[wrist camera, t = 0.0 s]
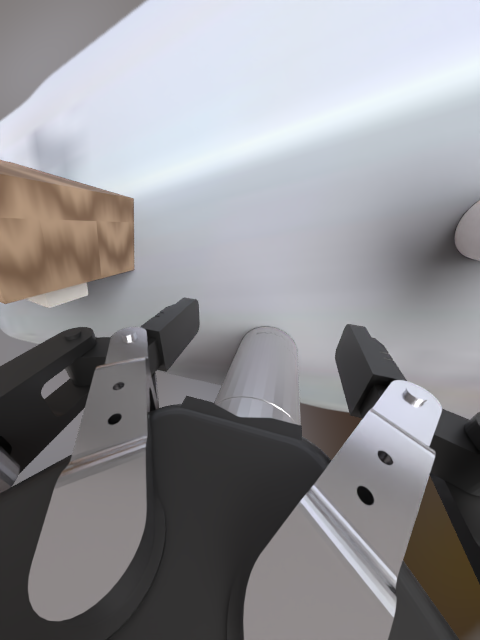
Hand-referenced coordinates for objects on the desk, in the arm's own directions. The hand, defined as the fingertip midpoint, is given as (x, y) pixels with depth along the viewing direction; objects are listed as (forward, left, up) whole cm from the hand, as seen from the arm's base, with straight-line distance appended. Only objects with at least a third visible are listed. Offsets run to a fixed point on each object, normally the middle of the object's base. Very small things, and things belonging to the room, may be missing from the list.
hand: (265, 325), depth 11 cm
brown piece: (+4, +32, -17) cm, 36 cm away
